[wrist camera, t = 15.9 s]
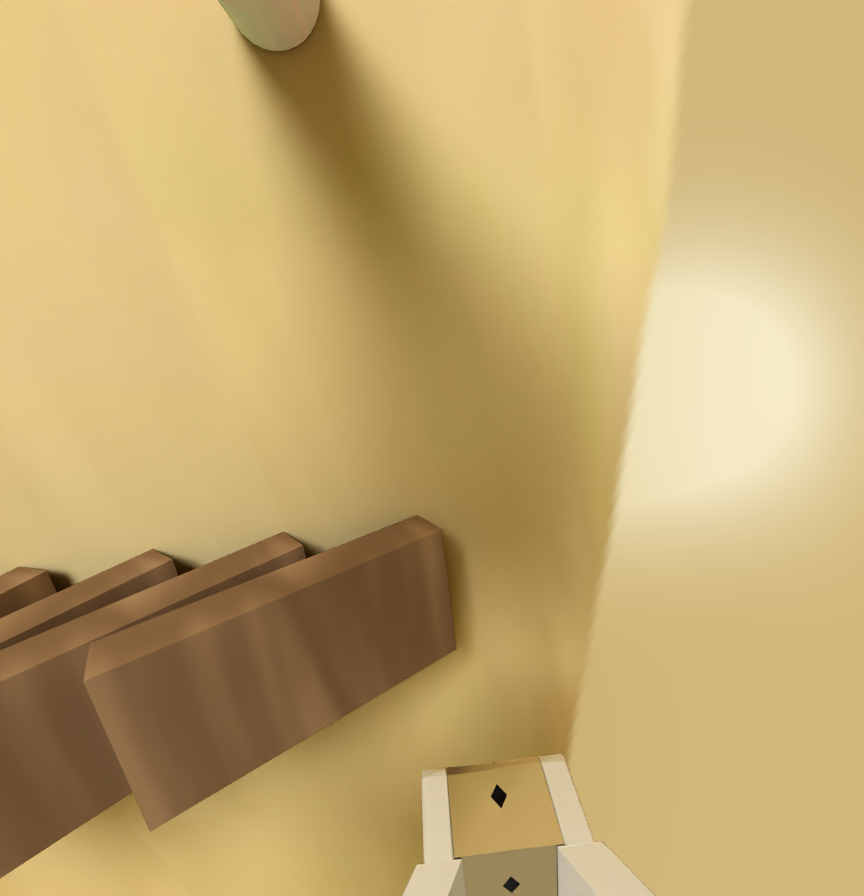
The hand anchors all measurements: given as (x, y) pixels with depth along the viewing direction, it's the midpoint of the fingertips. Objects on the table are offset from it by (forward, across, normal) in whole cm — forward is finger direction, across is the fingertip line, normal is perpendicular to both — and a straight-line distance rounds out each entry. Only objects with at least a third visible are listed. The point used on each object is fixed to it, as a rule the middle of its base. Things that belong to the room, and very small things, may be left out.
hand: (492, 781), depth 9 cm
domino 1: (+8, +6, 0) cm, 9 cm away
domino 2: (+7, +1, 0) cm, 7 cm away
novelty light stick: (+8, +3, -18) cm, 20 cm away
